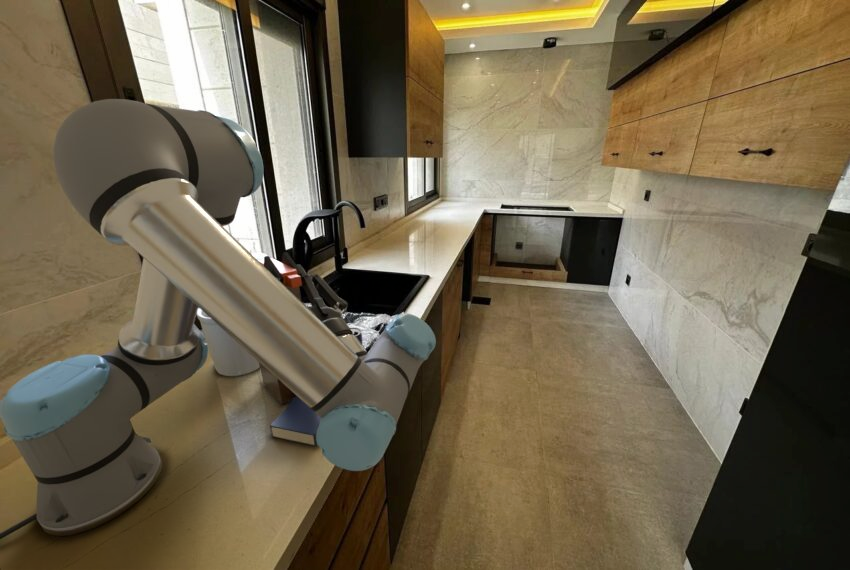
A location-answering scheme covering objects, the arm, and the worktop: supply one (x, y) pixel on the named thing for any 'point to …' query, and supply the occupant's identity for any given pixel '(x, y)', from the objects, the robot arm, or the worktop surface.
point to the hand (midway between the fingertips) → (275, 259)
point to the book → (297, 423)
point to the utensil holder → (226, 349)
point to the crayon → (283, 271)
